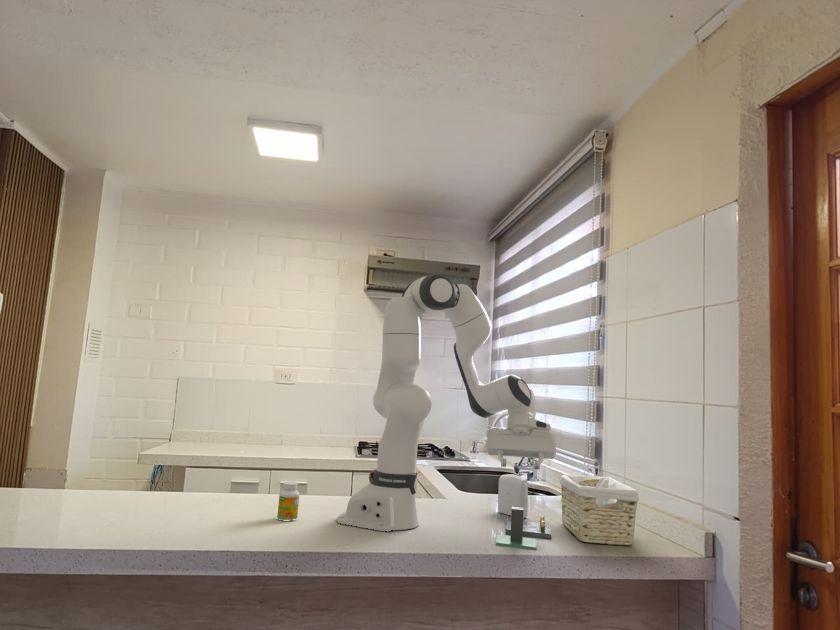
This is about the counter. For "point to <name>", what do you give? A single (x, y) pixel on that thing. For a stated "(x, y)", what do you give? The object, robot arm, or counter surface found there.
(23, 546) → the counter surface
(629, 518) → the storage basket
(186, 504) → the counter surface
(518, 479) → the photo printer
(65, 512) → the counter surface
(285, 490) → the supplement bottle
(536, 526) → the chassis
